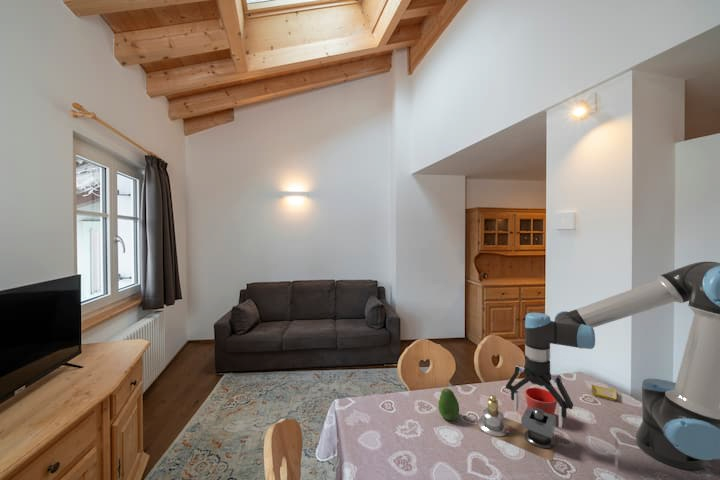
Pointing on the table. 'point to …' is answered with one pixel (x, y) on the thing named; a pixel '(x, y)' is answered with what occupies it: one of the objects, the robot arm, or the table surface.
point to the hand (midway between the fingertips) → (537, 417)
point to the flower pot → (540, 400)
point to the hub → (493, 420)
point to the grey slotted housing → (539, 423)
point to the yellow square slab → (596, 392)
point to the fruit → (448, 405)
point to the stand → (538, 438)
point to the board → (523, 440)
